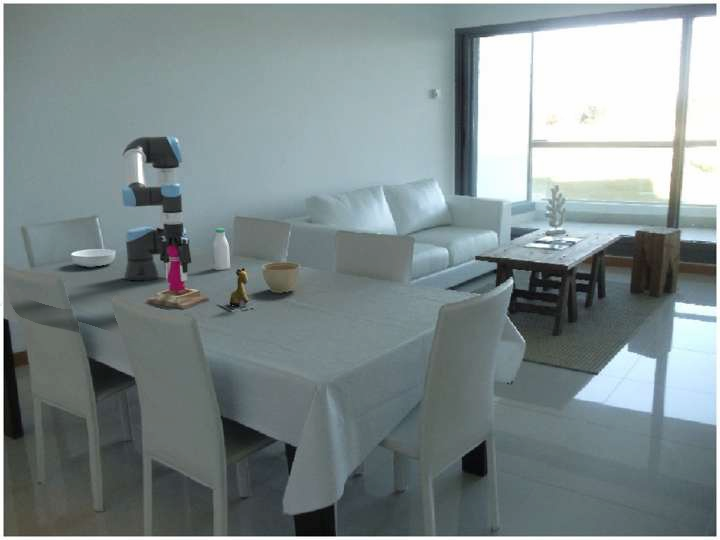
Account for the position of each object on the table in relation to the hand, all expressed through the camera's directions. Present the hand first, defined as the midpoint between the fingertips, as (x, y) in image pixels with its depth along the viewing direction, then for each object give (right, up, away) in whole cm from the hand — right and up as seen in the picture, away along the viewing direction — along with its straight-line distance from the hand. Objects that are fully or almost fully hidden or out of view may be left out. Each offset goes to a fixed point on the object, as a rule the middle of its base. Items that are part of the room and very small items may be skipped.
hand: (176, 279), depth 272 cm
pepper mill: (0, -4, +1) cm, 4 cm away
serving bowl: (-61, +6, +72) cm, 94 cm away
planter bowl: (+40, -5, +19) cm, 45 cm away
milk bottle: (+5, +4, +63) cm, 63 cm away
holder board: (0, -9, +2) cm, 9 cm away
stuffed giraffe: (+26, -10, -3) cm, 28 cm away
